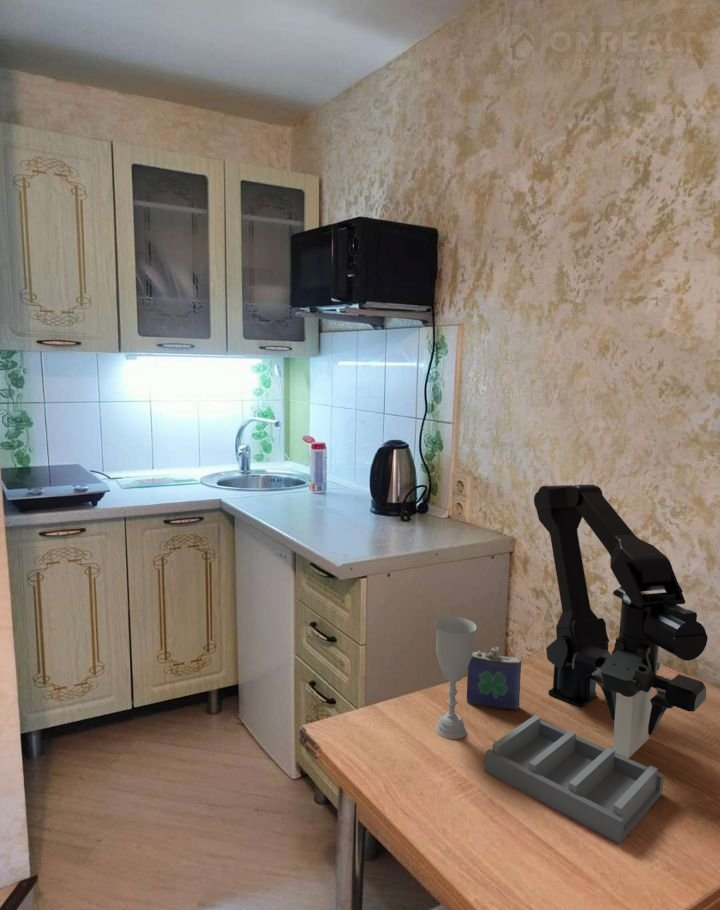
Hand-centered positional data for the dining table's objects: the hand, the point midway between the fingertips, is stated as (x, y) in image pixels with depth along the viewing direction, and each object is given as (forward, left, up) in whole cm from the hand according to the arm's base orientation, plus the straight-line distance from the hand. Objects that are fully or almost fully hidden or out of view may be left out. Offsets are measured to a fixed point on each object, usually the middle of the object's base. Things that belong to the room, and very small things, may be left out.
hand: (632, 726), depth 99 cm
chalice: (-22, -18, -3) cm, 29 cm away
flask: (-22, -6, -3) cm, 23 cm away
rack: (-2, -16, -3) cm, 16 cm away
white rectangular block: (0, 0, -3) cm, 3 cm away
